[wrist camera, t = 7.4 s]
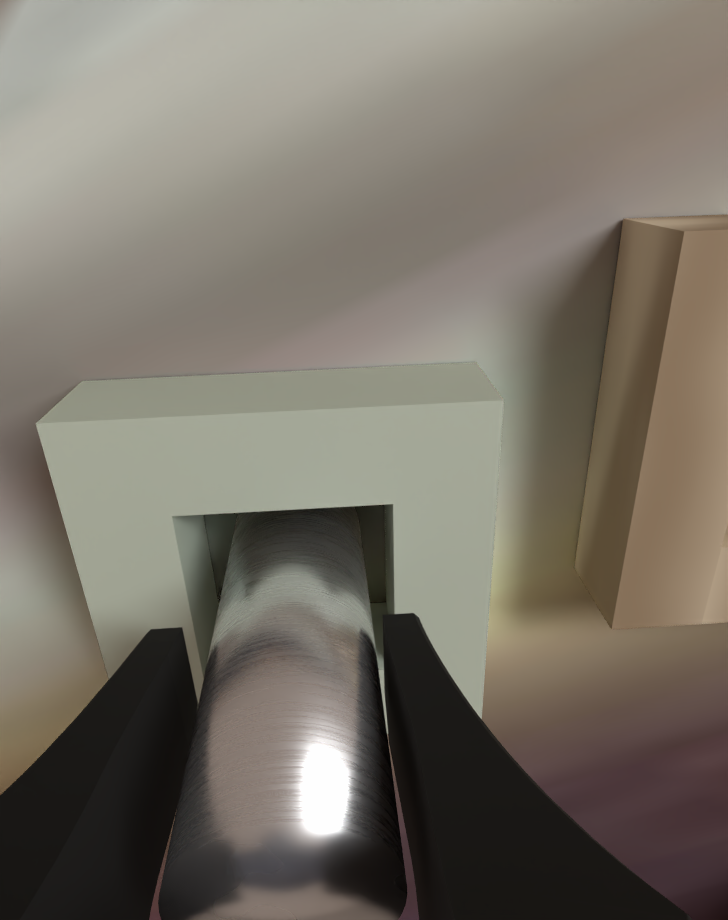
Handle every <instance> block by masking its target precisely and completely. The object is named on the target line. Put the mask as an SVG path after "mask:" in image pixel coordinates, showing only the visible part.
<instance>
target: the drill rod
mask: <svg viewBox="0 0 728 920" xmlns="http://www.w3.org/2000/svg"><path fill="white" fill-rule="evenodd" d="M406 899H407V883H406V875H405V868H404V860H403V853H402V845H401V837H400V830H399V822H398V814H397V807H396V799H395V792H394V784H393V776H392V769H391V761H390V753H389V746H388V738H387V731H386V723H385V715H384V708H383V700H382V692H381V685H380V677H379V669H378V662H377V654H376V647H375V639H374V631H373V624H372V616H371V608H370V601H369V593H368V586H367V578H366V570H365V563H364V555H363V547H362V540H361V532H360V525H359V519H358V515H357V512H356V510H355V508H354V506H350V507H332V508H314V509H296V510H278V511H260V512H242V513H238V516H237V519H236V524H235V529H234V534H233V539H232V544H231V549H230V553H229V558H228V563H227V568H226V573H225V578H224V583H223V587H222V592H221V597H220V602H219V607H218V612H217V617H216V621H215V626H214V631H213V636H212V641H211V646H210V651H209V656H208V660H207V665H206V670H205V675H204V680H203V685H202V690H201V694H200V699H199V704H198V709H197V714H196V719H195V724H194V728H193V733H192V738H191V743H190V748H189V753H188V758H187V762H186V767H185V772H184V777H183V782H182V787H181V792H180V797H179V801H178V806H177V811H176V816H175V821H174V826H173V831H172V835H171V840H170V845H169V850H168V855H167V860H166V865H165V869H164V874H163V879H162V884H161V889H160V894H159V901H158V905H159V913H160V916H161V920H398V919H399V917H400V916H401V914H402V912H403V909H404V907H405V904H406Z"/></svg>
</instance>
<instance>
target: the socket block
mask: <svg viewBox="0 0 728 920" xmlns="http://www.w3.org/2000/svg"><path fill="white" fill-rule="evenodd" d="M574 568H575V570H576V572H577V573H578V575H579V577H580V578H581V580H582V582H583V583H584V585H585V587H586V588H587V590H588V592H589V593H590V595H591V597H592V598H593V600H594V602H595V603H596V605H597V606H598V608H599V610H600V611H601V613H602V615H603V616H604V618H605V620H606V621H607V623H608V625H609V626H610V628H611V630H614V629H630V628H646V627H661V626H677V625H693V624H709V623H724V622H728V215H704V216H679V217H654V218H629V219H623V225H622V232H621V240H620V247H619V254H618V261H617V268H616V275H615V282H614V289H613V296H612V303H611V310H610V317H609V324H608V332H607V339H606V346H605V353H604V360H603V367H602V374H601V381H600V388H599V395H598V402H597V409H596V416H595V424H594V431H593V438H592V445H591V452H590V459H589V466H588V473H587V480H586V487H585V494H584V501H583V508H582V516H581V523H580V530H579V537H578V544H577V551H576V558H575V565H574Z"/></svg>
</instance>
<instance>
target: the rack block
mask: <svg viewBox="0 0 728 920" xmlns="http://www.w3.org/2000/svg"><path fill="white" fill-rule="evenodd" d="M503 409H504V399H503V398H502V397H501V395H500V394H499V393H498V391H497V390H496V388H495V387H494V386H493V384H492V383H491V382H490V380H489V379H488V378H487V376H486V375H485V373H484V372H483V371H482V369H481V368H480V367H479V365H478V364H477V362H472V363H451V364H430V365H409V366H388V367H368V368H347V369H326V370H305V371H284V372H263V373H242V374H221V375H200V376H179V377H158V378H137V379H116V380H96V381H82V382H80V383H79V384H78V385H77V386H76V387H75V388H74V389H73V390H72V391H71V392H70V393H69V394H67V395H66V396H65V397H64V398H63V399H62V400H61V401H60V402H59V403H58V404H57V405H55V406H54V407H53V408H52V409H51V410H50V411H49V412H48V413H47V414H46V415H45V416H43V417H42V418H41V419H40V420H39V421H38V422H37V423H36V426H37V430H38V433H39V437H40V440H41V444H42V447H43V451H44V454H45V458H46V461H47V465H48V468H49V472H50V475H51V479H52V482H53V486H54V489H55V493H56V496H57V500H58V503H59V507H60V510H61V514H62V517H63V521H64V524H65V528H66V531H67V535H68V538H69V542H70V545H71V549H72V552H73V556H74V559H75V563H76V566H77V570H78V573H79V577H80V580H81V584H82V587H83V591H84V595H85V598H86V602H87V605H88V609H89V612H90V616H91V619H92V623H93V626H94V630H95V633H96V637H97V640H98V644H99V647H100V651H101V654H102V658H103V661H104V665H105V668H106V672H107V675H108V679H110V678H111V677H112V675H113V674H114V673H115V672H116V670H117V669H118V668H119V667H120V666H121V664H122V663H123V662H124V661H125V659H126V658H127V657H128V656H129V654H130V653H131V652H132V651H133V649H134V648H135V647H136V646H137V644H138V643H139V642H140V641H141V640H142V638H143V637H144V636H145V635H146V634H147V633H148V632H149V630H150V629H162V628H178V627H182V628H183V633H184V638H185V643H186V648H187V653H188V658H189V663H190V667H191V672H192V677H193V682H194V687H195V692H196V697H197V701H198V704H199V699H200V694H201V690H202V685H203V680H204V675H205V670H206V665H207V660H208V656H209V651H210V646H211V641H212V636H213V631H214V626H215V621H216V617H217V612H218V607H219V604H218V598H217V592H216V586H215V580H214V574H213V568H212V563H211V557H210V551H209V545H208V539H207V533H206V527H205V521H204V515H206V514H224V513H242V512H260V511H278V510H296V509H314V508H332V507H350V506H368V505H384V510H385V559H386V602H385V603H370V608H371V616H372V624H373V631H374V639H375V647H376V654H377V662H378V669H379V677H380V685H381V692H382V700H383V708H384V715H385V723H386V731H387V734H388V725H387V715H386V703H385V692H384V652H383V615H389V614H405V613H414V614H415V615H417V616H418V617H419V619H420V621H421V623H422V626H423V628H424V630H425V632H426V634H427V636H428V638H429V640H430V642H431V643H432V645H433V647H434V649H435V651H436V652H437V654H438V656H439V657H440V659H441V661H442V663H443V664H444V666H445V667H446V669H447V671H448V672H449V674H450V675H451V677H452V678H453V680H454V681H455V683H456V684H457V686H458V687H459V689H460V690H461V692H462V693H463V695H464V696H465V698H466V699H467V700H468V702H469V703H470V705H471V706H472V707H473V709H474V710H475V712H476V713H477V714H478V716H479V717H480V718H481V719H482V705H483V691H484V677H485V663H486V648H487V634H488V620H489V606H490V592H491V578H492V564H493V550H494V536H495V522H496V508H497V494H498V479H499V465H500V451H501V437H502V423H503ZM197 709H198V708H197Z"/></svg>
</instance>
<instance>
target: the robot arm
mask: <svg viewBox="0 0 728 920" xmlns="http://www.w3.org/2000/svg"><path fill="white" fill-rule="evenodd" d="M383 652H384V692H385V703H386V715H387V725H388V736H389V745H390V750H391V755H392V760H393V766H394V771H395V776H396V781H397V787H398V792H399V797H400V802H401V807H402V812H403V818H404V823H405V828H406V833H407V838H408V843H409V849H410V854H411V859H412V865H413V872H414V878H415V885H416V894H417V903H418V912H419V920H692V919H691V918H690V916H689V915H688V914H686V913H685V912H684V911H682V910H681V909H680V908H678V907H677V906H676V905H674V904H673V903H672V902H671V901H669V900H668V899H667V898H665V897H664V896H663V895H661V894H660V893H659V892H657V891H656V890H655V889H653V888H652V887H651V886H650V885H648V884H647V883H646V882H644V881H643V880H642V879H641V878H639V877H638V876H637V875H636V874H634V873H633V872H632V871H631V870H629V869H628V868H627V867H626V866H625V865H623V864H622V863H621V862H620V861H619V860H618V859H616V858H615V857H614V856H613V855H612V854H611V853H609V852H608V851H607V850H606V849H605V848H604V847H602V846H601V845H600V844H599V843H598V842H597V841H595V840H594V839H593V838H592V837H591V836H590V835H589V834H588V833H587V832H586V831H585V830H584V829H583V828H581V827H580V826H579V825H578V824H577V823H576V822H575V821H574V820H573V819H572V818H571V817H570V816H569V815H568V814H567V813H566V812H564V811H563V810H562V809H561V808H560V807H559V806H558V805H557V804H556V803H555V802H554V801H553V800H552V799H551V798H550V797H549V796H548V795H547V794H546V793H545V792H544V791H543V790H542V789H541V788H540V787H539V786H538V785H537V784H536V783H535V782H534V781H533V780H532V778H531V777H530V776H529V775H528V774H527V773H526V772H525V771H524V770H523V769H522V768H521V767H520V765H519V764H518V763H517V762H516V761H515V760H514V759H513V758H512V756H511V755H510V754H509V753H508V752H507V751H506V749H505V748H504V747H503V746H502V745H501V744H500V742H499V741H498V740H497V739H496V737H495V736H494V735H493V734H492V732H491V731H490V730H489V729H488V727H487V726H486V725H485V723H484V722H483V721H482V719H481V718H480V717H479V716H478V714H477V713H476V712H475V710H474V709H473V707H472V706H471V705H470V703H469V702H468V700H467V699H466V698H465V696H464V695H463V693H462V692H461V690H460V689H459V687H458V686H457V684H456V683H455V681H454V680H453V678H452V677H451V675H450V674H449V672H448V671H447V669H446V667H445V666H444V664H443V663H442V661H441V659H440V657H439V656H438V654H437V652H436V651H435V649H434V647H433V645H432V643H431V642H430V640H429V638H428V636H427V634H426V632H425V630H424V628H423V626H422V623H421V621H420V619H419V617H418V616H417V615H415V614H414V613H405V614H389V615H383ZM197 708H198V701H197V697H196V692H195V687H194V682H193V677H192V672H191V667H190V663H189V658H188V653H187V648H186V643H185V638H184V633H183V628H182V627H178V628H162V629H150V630H149V632H148V633H147V634H146V635H145V636H144V637H143V638H142V640H141V641H140V642H139V643H138V644H137V646H136V647H135V648H134V649H133V651H132V652H131V653H130V654H129V656H128V657H127V658H126V659H125V661H124V662H123V663H122V664H121V666H120V667H119V668H118V669H117V670H116V672H115V673H114V674H113V675H112V677H111V678H110V679H109V680H108V681H107V683H106V684H105V685H104V686H103V687H102V689H101V690H100V691H99V692H98V693H97V694H96V696H95V697H94V698H93V699H92V700H91V701H90V703H89V704H88V705H87V706H86V707H85V708H84V710H83V711H82V712H81V713H80V714H79V715H78V716H77V718H76V719H75V720H74V721H73V722H72V723H71V724H70V725H69V726H68V727H67V728H66V730H65V731H64V732H63V733H62V734H61V735H60V736H59V737H58V738H57V739H56V740H55V741H54V742H53V743H52V744H51V746H50V747H49V748H48V749H47V750H46V751H45V752H44V753H43V754H42V755H41V756H40V757H39V758H38V759H37V760H36V761H35V762H34V763H33V764H32V765H31V766H30V767H29V768H28V769H27V770H26V771H25V772H24V773H23V774H22V775H21V776H20V777H19V778H18V779H17V780H16V781H15V782H14V783H13V784H12V785H11V786H10V787H9V788H8V789H7V790H6V791H4V792H3V793H2V794H1V795H0V920H149V917H150V911H151V906H152V901H153V897H154V893H155V888H156V884H157V880H158V876H159V872H160V868H161V865H162V861H163V857H164V853H165V850H166V846H167V842H168V839H169V835H170V831H171V828H172V824H173V820H174V817H175V813H176V809H177V805H178V801H179V797H180V792H181V787H182V782H183V777H184V772H185V767H186V762H187V758H188V753H189V748H190V743H191V738H192V733H193V728H194V724H195V719H196V714H197Z"/></svg>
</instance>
